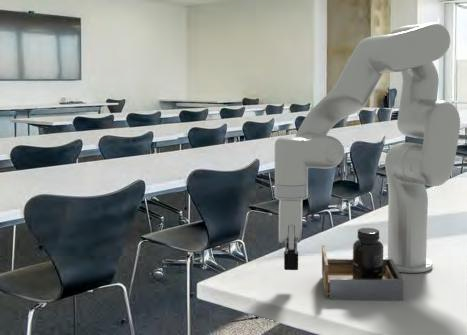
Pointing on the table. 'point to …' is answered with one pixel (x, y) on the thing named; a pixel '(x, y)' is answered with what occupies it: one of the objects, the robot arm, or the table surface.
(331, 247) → the table surface
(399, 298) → the housing
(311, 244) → the table surface
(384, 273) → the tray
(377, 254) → the supplement bottle
